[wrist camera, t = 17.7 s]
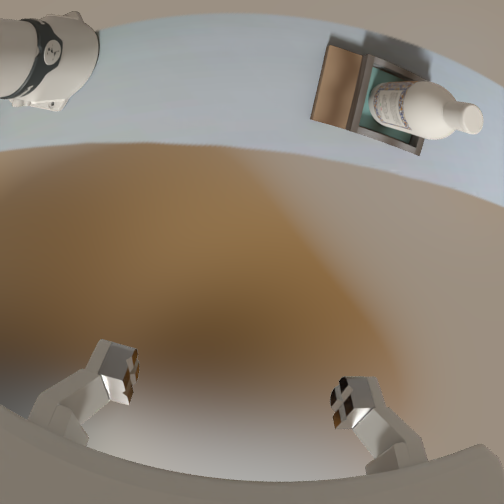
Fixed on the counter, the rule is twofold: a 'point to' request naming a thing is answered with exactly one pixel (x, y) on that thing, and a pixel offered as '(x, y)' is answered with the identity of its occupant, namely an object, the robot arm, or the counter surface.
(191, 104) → the counter surface
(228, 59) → the counter surface
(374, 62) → the tray
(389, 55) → the counter surface
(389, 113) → the bath foam
